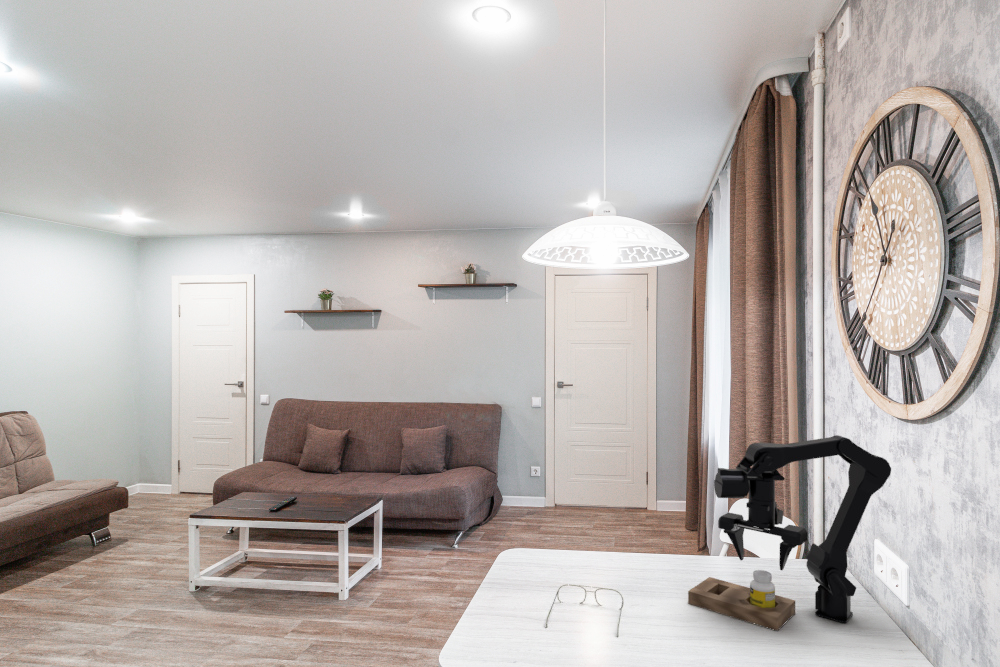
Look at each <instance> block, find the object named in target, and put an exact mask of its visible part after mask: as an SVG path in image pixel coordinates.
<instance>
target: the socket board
mask: <svg viewBox="0 0 1000 667" xmlns="http://www.w3.org/2000/svg"><path fill="white" fill-rule="evenodd" d="M687 598H688V602H687V603H688V604H689V605H692V606H696V607H699V608H702V609H705V610H708V611H710V612H715V613H718V614H721V615H724V616H727V617H730V616H731V618H734V619H737V620H740V619H741V620H740V621H743V620H744V622H746V621H747V623H750V622H751V623H750V624H753V623H755V624H754V625H756V624H758V625H757V626H759V625H761V626H760V627H762V626H764V628H766V627H768V628H767V629H769V628H771V629H770V630H772V629H774V630H773V631H775V630H778V631H780V629H781V628H782V627H783V626H784V625H785V624H786V623H787V622H788V621H789V620H790V619H791V618H792V617H793V616H795V614H796V600H795V599H791V598H787V597H783V596H781V595H777V594H775V608H761V607H758V606H754V605H751V604H750V587H747V586H743V585H741V584H736V583H733V582H729V581H725V580H722V579H719V578H714V577H711V576H708V577H707V578H706V579H704V580H703V581H701V582H700V583H698V584H697V585H695V586H694V587H691V589H689V590H688V591H687ZM792 615H793V616H792ZM791 616H792V617H791ZM790 617H791V618H790ZM789 618H790V619H789ZM788 619H789V620H788ZM787 620H788V621H787ZM786 621H787V622H786ZM785 622H786V623H785ZM784 623H785V624H784ZM783 624H784V625H783ZM782 625H783V626H782ZM781 626H782V627H781ZM780 627H781V628H780ZM779 628H780V629H779Z"/></svg>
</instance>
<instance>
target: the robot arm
mask: <svg viewBox="0 0 1000 667" xmlns="http://www.w3.org/2000/svg"><path fill="white" fill-rule="evenodd" d="M834 456H839V457H840V458H841V459H842V460H844V461H845V462H846V463H847V464H848V465H849V468H848V474H847V475H848V487H847V489H846V492H845V494H844V496H843V498H842V500H841V503H840V505H839V508H838V510H837V512H836V514H835V517H834V519H833V522H832V523H831V526H830V528H829V531H828V533H827V536H826V537H825V539H824V541H823V542H821V543H820V544H819V545H817V544H816V543H812V544H811V546H810V550H809V553H808V554H807V555H806V556H805V559H806V560H807V561H806V568H807V570H808V572H809V574H810V575H811V576H813V578H814V581H815V582H816V583H818V584H819V585H818V586H817V590H816V591H815V593H814V598H815V599H814V602H815V604H814V608H815V610H816V611H815V615H816V616H818V617H821V618H825V619H828V620H832V621H834V622H835V621H836V622H840V623H841V624H842V623H843V624H847V623H848V622H849V620H850V619H851V618H852V616H854V612H852V610H851V607H852V606H851V602H852V601H851V598H852V597H854V596H855V594H856V590H857V586H856V585H854V583H852V581H850V580H849V579H848V578H847V577H846V575H847V570H848V554H847V553H848V550H849V547H850V545H851V542H852V541H853V538H854V537H855V534H856V531H857V529H858V527H859V524H860V522H861V519H862V517H863V515H864V513H865V511H866V509H867V506H868V504H869V502H870V499H871V497H872V496H873V495H874V494H875V493H877V492H878V491H879V490H880V489H882V488H883V486H884V485H885V484H886V482H887V480H888V479H889V477H890V476H891V473H892V467H891V466H890V462H888V460H886V459H885V458H884V457H883V456H882V457H881V456H879V455H875V454H872V453H871V452H869V451H867V450H865V449H864V448H863V447H860V446H858V445H857V444H856V443H855V442H853V441H852V440H851V439H850V438H848V437H845V436H842V435H833V436H830V437H823V438H817V439H816V438H815V439H811V440H809V439H808V440H803V441H796V442H790V443H772V442H754V443H750V444H749V446H748V447H747V448H746V451H745V455H744V456H743V458H742V459H741V460H740V461H739V463H738V464H737V465H736V467H735V468H723V467H722V468H721V467H718V468H717V473H716V475H715V477H714V480H713V486H714V493H715V495H716V498H718V499H744V498H745V497H747V496H748V500H747V502H746V508H747V509H748V513H747V514H748V517H747V518H748V519H747V520H745V519H744V516H743V515H742V514H738V513H733V512H727V513H725V514H723V515H721V516H719V518H718V520H717V521H718V522H717V526H718V528H719V529H720V530H721V529H722V530H723V533H724V534H727V536H728V538H729V540H730V542H731V543H732V545H733V547H734V549H735V551H736V554H737V556H738V558H739V560H740V561H743V560H744V556H745V548H744V532H745V529H746V530H751V531H755V532H760V533H765V534H769V535H773V536H777V537H780V539H781V540H782V541H781V542H780V543H779V570H780V571H783V570H784V568H785V567H786V563H787V561H788V559H789V555H790V554H791V552H792V549H794V548H796V547H798V546H802V545H803V544H805V542H807V541H808V531H807V530H806V528H805V527H803V526H797V525H793V524H788V525H786V526H785V527H780V526H776V525H783V518H784V512H785V511H784V510H782V509H780V508H778V504H777V501H776V481H785V479H786V478H785V477H784V476H783V475H782V474H781V473H780V471H779V470H778V469H781V468H783V467H784V468H785V466H787V465H788V464H792V463H794V462H800V461H801V462H802V461H807V460H814V459H815V460H816V459H821V458H829V457H834Z"/></svg>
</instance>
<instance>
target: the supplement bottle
mask: <svg viewBox="0 0 1000 667" xmlns="http://www.w3.org/2000/svg"><path fill="white" fill-rule="evenodd" d="M752 573H753V574H752V577H753V579H752V580H751V581H750V584H749V588H750V604H751V605H754V606H758V607H761V608H775V595H776V586H775V584H774V583H773V582H772V578H773V577H772V576H773V575H772V573H771V572H769V571H767V570H763V569H757V570H754V571H753V572H752Z"/></svg>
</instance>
